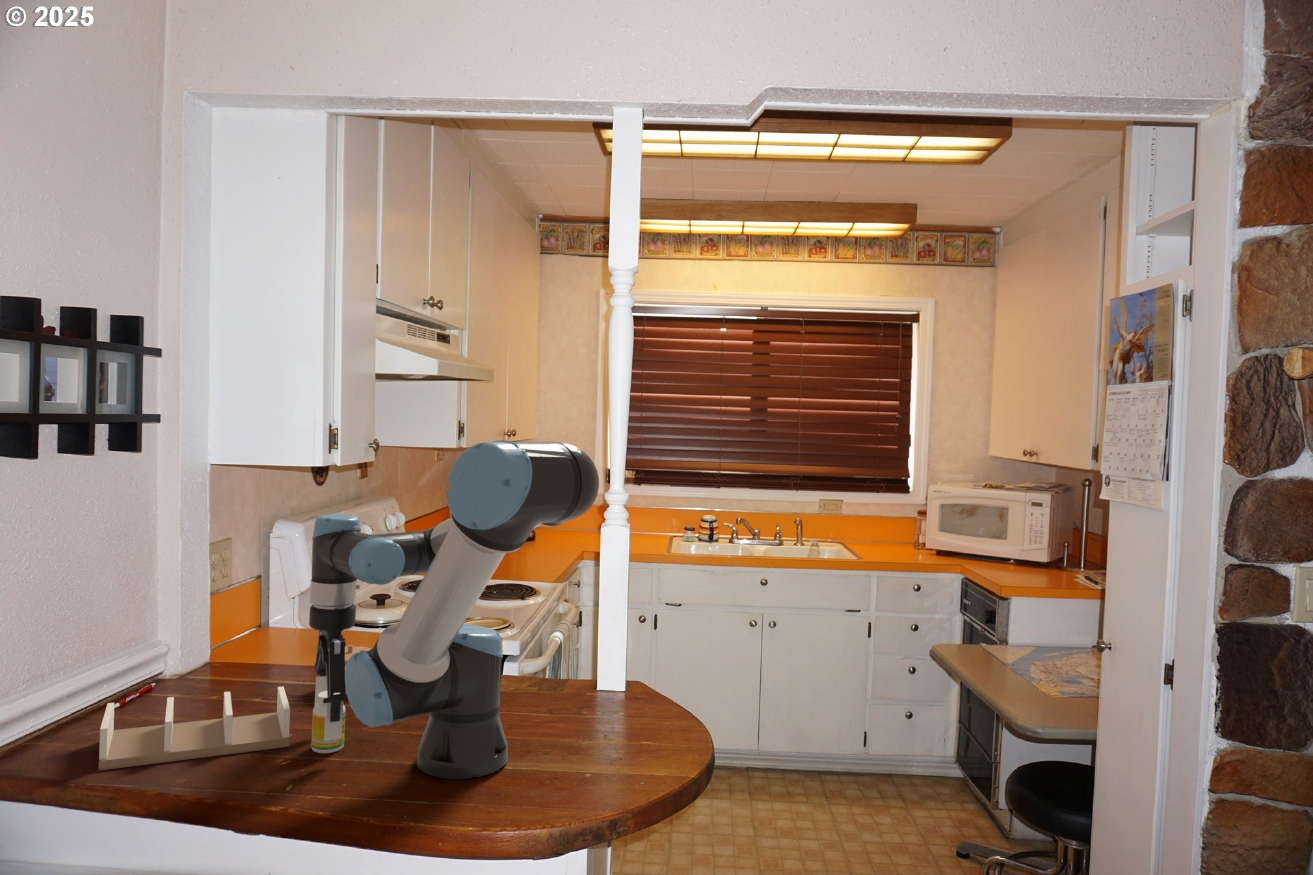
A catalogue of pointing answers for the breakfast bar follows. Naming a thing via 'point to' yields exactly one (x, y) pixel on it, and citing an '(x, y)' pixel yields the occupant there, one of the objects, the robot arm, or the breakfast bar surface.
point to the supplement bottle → (319, 727)
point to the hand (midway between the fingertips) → (327, 724)
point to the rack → (193, 736)
